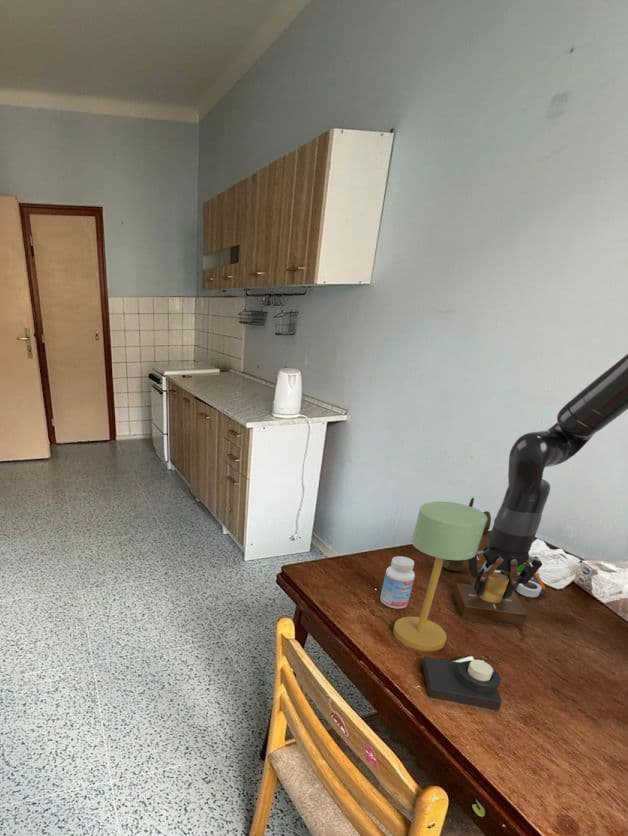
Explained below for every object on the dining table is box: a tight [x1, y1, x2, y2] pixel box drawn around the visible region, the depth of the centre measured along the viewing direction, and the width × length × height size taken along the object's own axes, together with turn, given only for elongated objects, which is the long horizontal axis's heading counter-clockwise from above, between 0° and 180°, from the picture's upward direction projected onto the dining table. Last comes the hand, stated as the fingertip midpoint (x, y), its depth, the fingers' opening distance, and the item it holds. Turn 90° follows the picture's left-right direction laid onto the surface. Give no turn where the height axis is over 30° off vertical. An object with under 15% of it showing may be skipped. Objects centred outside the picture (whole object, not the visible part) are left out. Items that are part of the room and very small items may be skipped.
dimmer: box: [452, 582, 528, 627], centre depth 107 cm, size 12×10×3 cm
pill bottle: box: [379, 555, 416, 610], centre depth 108 cm, size 6×6×11 cm
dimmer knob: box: [479, 571, 509, 603], centre depth 105 cm, size 4×4×6 cm
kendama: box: [442, 497, 492, 573], centre depth 120 cm, size 6×10×20 cm, turn 72°
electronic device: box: [501, 561, 547, 598], centre depth 117 cm, size 7×3×15 cm
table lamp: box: [392, 501, 487, 652], centre depth 93 cm, size 11×11×28 cm
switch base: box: [421, 656, 503, 711], centre depth 86 cm, size 11×9×4 cm
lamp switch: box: [467, 659, 494, 681], centre depth 84 cm, size 4×4×2 cm
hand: (491, 594), depth 106 cm, fingers closed on dimmer knob, 4 cm apart
